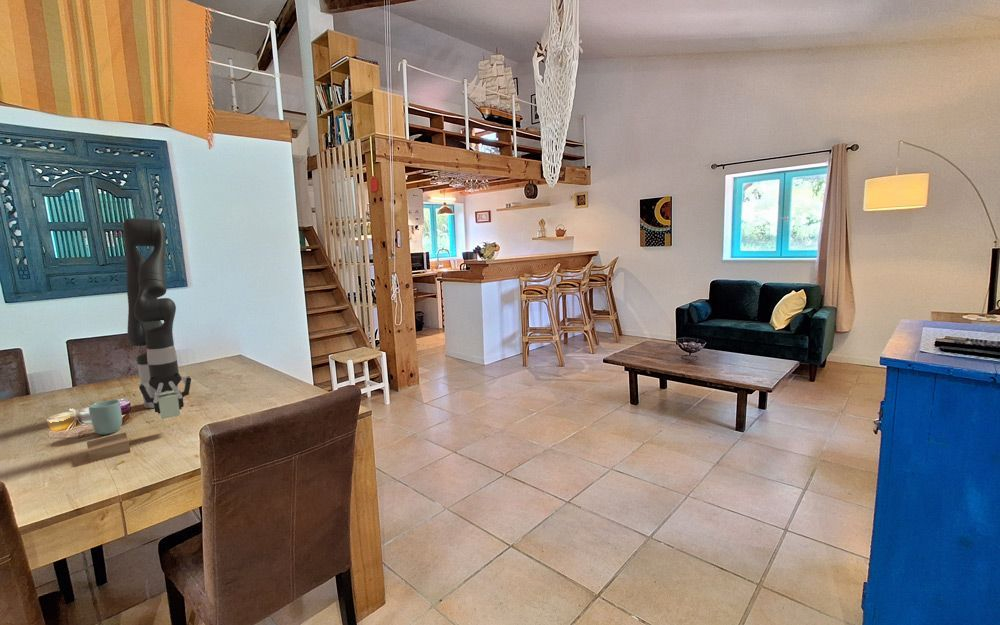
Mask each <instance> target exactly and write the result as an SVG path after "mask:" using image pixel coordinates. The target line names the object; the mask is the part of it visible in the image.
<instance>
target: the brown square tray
mask: <svg viewBox="0 0 1000 625" xmlns="http://www.w3.org/2000/svg"><path fill="white" fill-rule="evenodd" d="M86 445H87V452H88V458H89V463H91V462H92V463H95V461H96V462H99V460H100V461H103V459H104V460H107V459H110V458H113V457H118V456H122V455H124V454H129V453H131V446H130V440H129V437H128V435H127V433H126V432H122V433H117V434H114V435H113V434H112V435H108V436H105V437H100V438H95V439H91V440H88V441H86ZM92 463H91V464H92Z"/></svg>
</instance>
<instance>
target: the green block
mask: <svg viewBox="0 0 1000 625" xmlns="http://www.w3.org/2000/svg"><path fill="white" fill-rule="evenodd" d="M158 400H159V407H160V414H159V415H160V420H165V419H169V418H174V417H178V416H181V409H180V410H179V403H178V396H177V394H175V392H174V391H172V392H168V393H162V394H160V396H159V397H158Z"/></svg>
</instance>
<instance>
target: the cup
mask: <svg viewBox="0 0 1000 625" xmlns="http://www.w3.org/2000/svg"><path fill="white" fill-rule="evenodd" d="M121 407H122V406H121V402H120V400H119V399H109V400H103V401H97V402H94V403H92V404H90V405H89V406H88V410H89V411H88V412H89V417H90V421H91V425H92V428H93V430H94V432H95V433H96V434H98V435H103V436H104V435H110V434H114V433H116V432H118V431H119V430H120V429H121V427H122V425H123V413H122V408H121Z"/></svg>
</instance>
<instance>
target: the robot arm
mask: <svg viewBox="0 0 1000 625" xmlns="http://www.w3.org/2000/svg"><path fill="white" fill-rule="evenodd" d="M122 227H123V240H124V249H125V255H126V258H125V259H126V292H127V294H126V295H127V304H128V314H127V316H128V317H127V338H128V339H127V340H128V342H129V344H130V345H131V346H133V347H143V346H146V351H145V352H144V353H141V354H140V355H137V357H136V362H137V368H138V369H137V371H138V376H139V381H140V384H139V385H138V386H139V391H140V393H141V394H142V401H143V406H144V408H145V409H154V412H155V413H157V414H158V415H161V414H160V407H159V400H158V397H159V396H160V394H162V393H168V392H175V394H177V396H178V403H179V410H180V411H181V410H182V409H183V408H184V406H185V405H184V398H185V397H186V396H189V394H190V388H191V382H192V378H191V376H190V375H187V376H181V375H180V371H179V364H178V356H177V351H176V348H175V342H174V341H175V340H174V336H173V335H174V334H173V328H174V327H173V325H174V320H175V317H176V316H175V315H176V310H177V306H176V304H175V302H174V300H172V299H171V298H167V297H163V296H164V295H166V293H167V282H166V274H165V262H166V229H165V226H164V223H163V222H162V221H161V220H158V219H149V218H138V217H137V218H135V217H134V218H133V217H129V218H128V217H127V218H125V219H124V220H123V226H122ZM138 247H152V248H153V250H152V252H151V253H150V255H149V256H148V257H147V258H146V259H144V258H143V256H142V255H141V252H140V251H139V249H138ZM161 297H163V298H161ZM162 321H163V322H162ZM181 381H182V382H183V384H184V389H183V391H182V392H181V390H180V389H179V387H178V386H179V384H180V382H181Z"/></svg>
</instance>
